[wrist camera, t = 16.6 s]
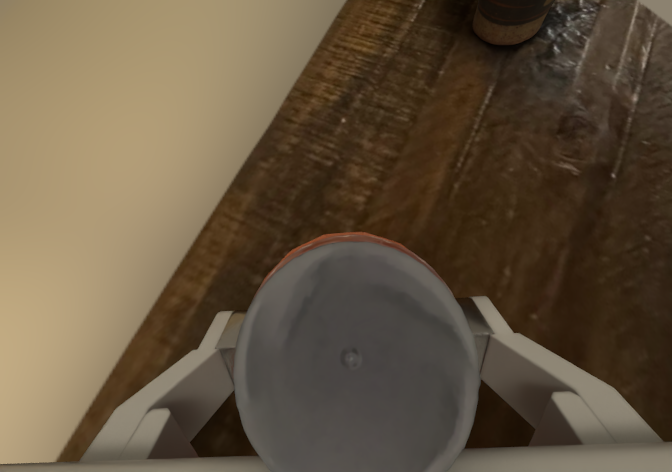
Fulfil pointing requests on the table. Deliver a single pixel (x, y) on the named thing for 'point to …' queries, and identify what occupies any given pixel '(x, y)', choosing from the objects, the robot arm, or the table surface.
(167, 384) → the robot arm
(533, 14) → the cup
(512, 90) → the table surface
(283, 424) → the supplement bottle
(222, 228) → the table surface
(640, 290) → the table surface
